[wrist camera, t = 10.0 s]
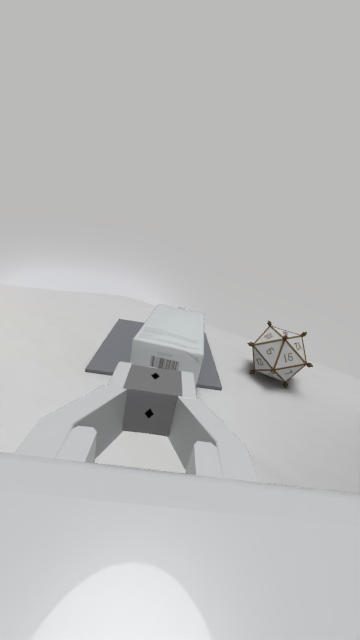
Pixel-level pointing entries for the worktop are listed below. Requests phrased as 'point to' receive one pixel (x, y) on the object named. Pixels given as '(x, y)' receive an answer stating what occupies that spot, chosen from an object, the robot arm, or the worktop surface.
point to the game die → (279, 354)
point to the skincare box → (171, 340)
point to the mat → (120, 350)
